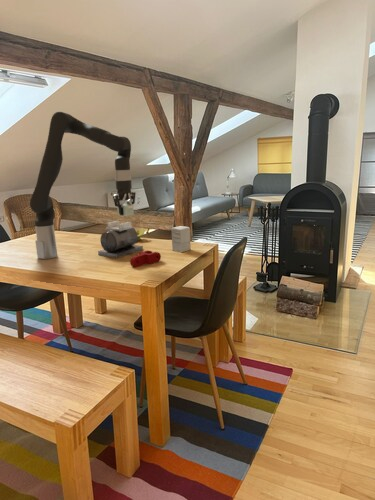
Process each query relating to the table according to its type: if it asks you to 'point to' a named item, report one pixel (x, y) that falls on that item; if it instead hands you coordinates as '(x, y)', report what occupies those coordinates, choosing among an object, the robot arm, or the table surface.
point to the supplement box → (181, 238)
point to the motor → (119, 240)
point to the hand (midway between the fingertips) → (125, 213)
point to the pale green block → (127, 210)
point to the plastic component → (140, 233)
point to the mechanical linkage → (145, 258)
